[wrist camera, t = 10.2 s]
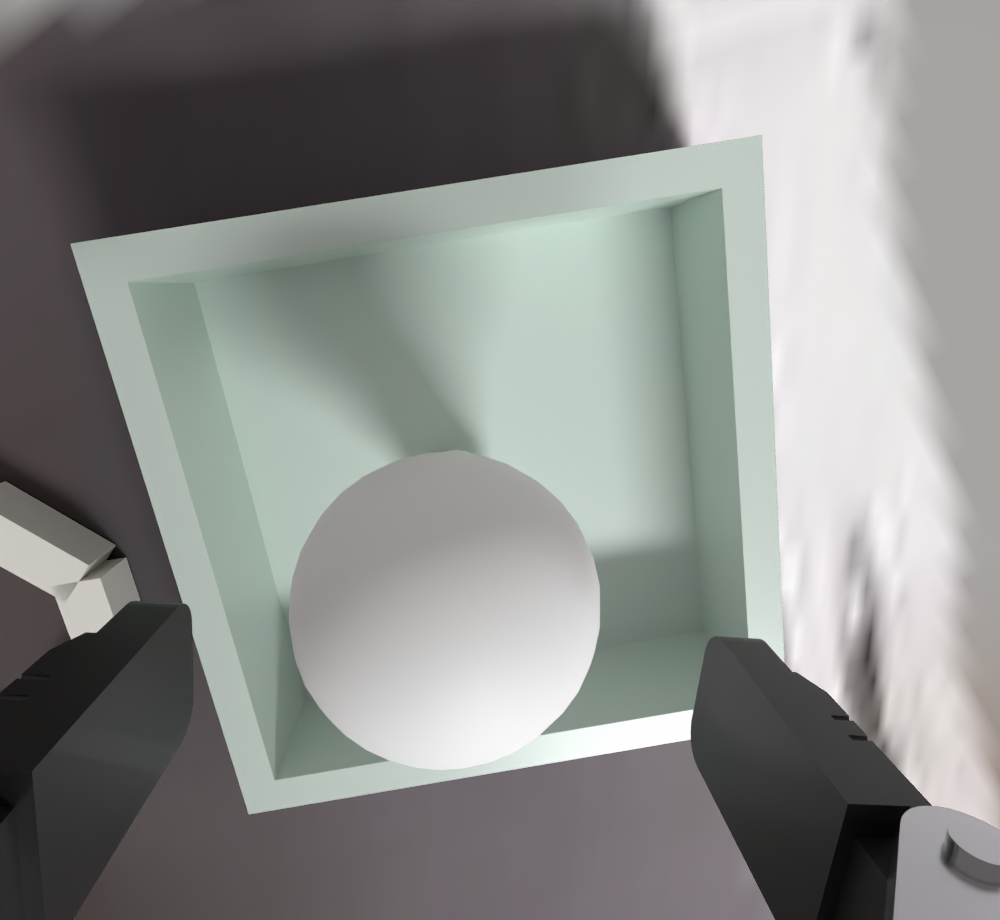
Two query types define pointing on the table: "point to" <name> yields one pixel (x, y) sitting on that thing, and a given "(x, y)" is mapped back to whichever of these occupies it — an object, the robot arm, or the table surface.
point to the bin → (462, 421)
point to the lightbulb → (444, 610)
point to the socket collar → (63, 561)
